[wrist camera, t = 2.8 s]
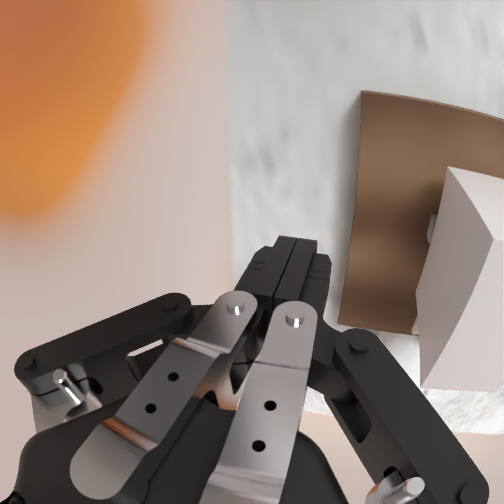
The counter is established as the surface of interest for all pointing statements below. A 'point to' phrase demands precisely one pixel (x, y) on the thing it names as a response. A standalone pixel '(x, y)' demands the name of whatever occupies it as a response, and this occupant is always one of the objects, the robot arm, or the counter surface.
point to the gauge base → (406, 199)
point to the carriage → (464, 287)
